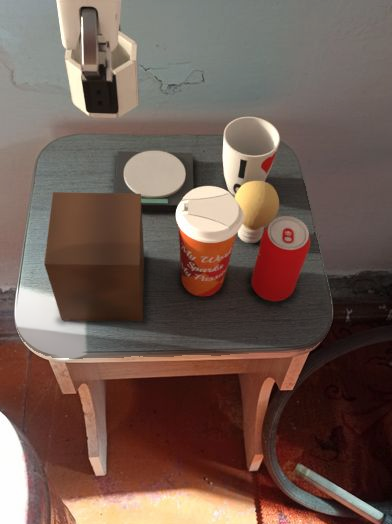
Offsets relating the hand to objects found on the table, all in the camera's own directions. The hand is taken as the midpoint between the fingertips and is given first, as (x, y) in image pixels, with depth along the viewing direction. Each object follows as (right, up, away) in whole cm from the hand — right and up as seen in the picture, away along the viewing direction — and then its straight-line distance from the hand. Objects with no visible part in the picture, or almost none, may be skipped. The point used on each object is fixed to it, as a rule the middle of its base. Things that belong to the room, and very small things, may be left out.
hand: (105, 84), depth 58 cm
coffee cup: (+10, -17, +23) cm, 31 cm away
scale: (+3, -1, +31) cm, 31 cm away
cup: (+17, -1, +32) cm, 36 cm away
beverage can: (+20, -18, +24) cm, 36 cm away
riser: (-4, -18, +22) cm, 29 cm away
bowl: (0, -1, +1) cm, 1 cm away
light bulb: (+17, -10, +28) cm, 34 cm away
